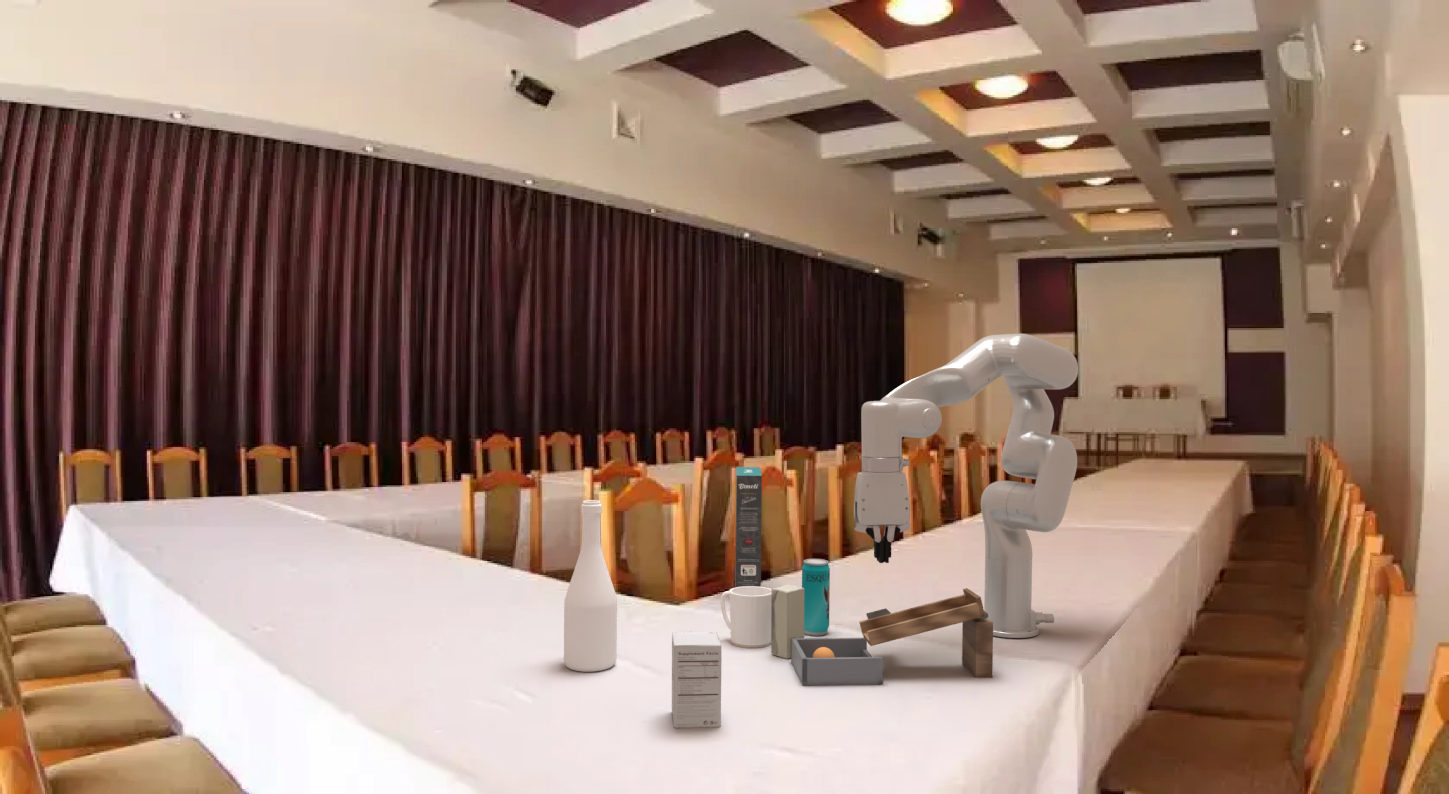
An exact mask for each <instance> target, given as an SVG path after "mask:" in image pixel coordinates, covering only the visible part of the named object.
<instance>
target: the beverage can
mask: <svg viewBox="0 0 1449 794" xmlns="http://www.w3.org/2000/svg"><path fill="white" fill-rule="evenodd" d="M830 577H831V568H830V565H829V561H828V560H826V559H822V558H807V559H803V565H802V567H801V587H802V588H804V635H807V636H812V637H820V636H825V635H826V634H827V632H828V630H829V628H830V599H831V598H830V595H831V594H830V589H831V588H830V586H831V585H830V583H831V581H830V580H831V578H830Z"/></svg>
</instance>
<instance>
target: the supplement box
mask: <svg viewBox="0 0 1449 794" xmlns="http://www.w3.org/2000/svg"><path fill="white" fill-rule="evenodd" d="M722 661H723V660H722V642H721V641H720V637H719V634H718V632H716V631H688V632H687V631H685V632H682V631H680V632H679V631H678V632H672V634H671V713H672V721H673V728H676V729H677V728H679V729H680V728H681V729H682V728H684V729H686V728H688V729H691V728H719V727H721V725H722Z"/></svg>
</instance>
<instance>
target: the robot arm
mask: <svg viewBox="0 0 1449 794" xmlns="http://www.w3.org/2000/svg"><path fill="white" fill-rule="evenodd" d="M1078 375H1079V363H1078V361H1077V358H1076V357H1075V356H1074V354H1073V353H1072V352H1071V351H1070V350H1069V349H1067V348H1065V347H1063V346H1060V345H1058V344H1056V343H1055V344H1054V343H1052V342H1049V341H1047V340H1045V339H1042V338H1040V337H1037V336H1033V335H1030V334H1028V333H1006V334H1005V333H1003V334H1002V333H1001V334H991V335H987V336H984V337H982V338H980V339H979V340H977V341H976V342H974V343H973V344H971V346H969V347H967V349H965V350H964V351H963V352H961V353H960V354H958V355H957V356H956V357H955V358H953V359H952V360H950V361H949V362H948V363H946V364H944V365H943V366H940V367H938V368H935V369H932V370H930V371H927V372H926V373H924V374H921V375H919V376H917V377H915V378H912V379H910V380H908V381H906V382H904V383H902V384H900V385H899V386H897V387H896V388H894V389H893V390H891V391H890V392H889V393H888V394H886V395H885V396H883V397H882V398H881V399H880V400H873V401H872V400H871V401H870V400H869V401H866V402H864V403H863V404H862V405H861V415H860V416H861V417H860V419H861V471H860V472H857V475H856V480H855V487H854V501H853V502H854V503H853V518H854V521H855V522H854V526H853V529H854V531H855V532H858V533H862V534H867V535H868V536H869V537H870V538H871V539H872V540H873V556H874V559H876V561H877V562H878V563H879V564H884V563H886V564H889V563H890V560H889V559H890V558H892V543H893V541H894V540H895V538H896V536H898V535H899V534H900V533H903V532H906V531H910V530H911V529H912V527H911V523H910V520H911V504H910V494H909V485H908V479H907V476H906V472H904V471H903V470H904V468H905V467H910V460H909V458H904V457H903V456H902V455H903V452H902V451H903V450H902V447H903V446H902V441H903V439H902V438H903V437H906V438H915V439H924V438H928V437H930V436H932V435H934V434H935V433H936V432H937V431H939V429H940V427H941V425H942V421H943V420H942V419H943V418H942V417H943V416H942V412H941V409H940V408H943V407H948V406H954V405H957V404H961V403H964V402H965V403H966V402H968V401H970V400H972V399H973V398H974V397H975V396H976V395H978V394H979V393H980V392H982V391H983V390H985V388H987V387H989V385H991V384H992V383H993V382H995V381H996V380H997V379H999V378H1000V377H1001V378H1002V379H1003V380H1002V381H1003V382H1004V383H1005V385H1006V388H1007V389H1008V392H1009V394H1010V397H1011V401H1012V405H1013V406H1012V407H1013V408H1012V415H1011V419H1010V423H1009V426H1008V430H1007V434H1006V437H1005V440H1004V443H1003V448H1002V452H1001V458H1000V464H1001V467H1002V470H1003V471H1004V472H1006V473H1007V474H1009V475H1011V476H1014V477H1018V478H1024V479H1031V480H1035V483H1028V482H1021V481H1014V480H1013V481H1012V480H998V481H994V482H991V483H989V484H988V486H986V487H985V489H984V490H983V492H982V493H981V498H980V509H981V510H980V511H981V516H982V522H983V529H984V545H985V546H984V550H985V551H984V554H985V555H984V603H983V605H984V606H983V609H984V611H985V612H986V613H988V619H989V620H991V621H992V622H993V637H1001V638H1005V639H1006V638H1008V639H1009V638H1010V639H1027V638H1032V637H1036V636H1038V635H1039V633H1040V631H1039V630H1040V628H1039V626H1038V625H1040V624H1041V623H1043V624H1055V616H1054V614H1053V613H1043V612H1042V611H1041V612H1036V611H1035V610H1034V609H1032V590H1033V587H1032V586H1033V585H1032V584H1033V583H1032V582H1033V580H1032V579H1033V546H1032V541H1031V539H1030V537H1029V534H1028V532H1027V531H1032V532H1037V533H1051V532H1052V531H1054V530H1056V529H1057V528H1058V527H1059V526H1060V525H1061V523H1062V521H1063V519H1064V515H1065V513H1066V509H1067V505H1068V503H1069V498H1070V495H1071V491H1072V488H1073V483H1074V480H1075V476H1076V474H1077V473H1076V472H1077V468H1078V454H1077V450H1076V448H1075V445H1074V444H1073V442H1072V441H1071V440H1070V439H1068V438H1067V437H1065V436H1062V435H1058V434H1051V433H1052V429H1053V425H1054V419H1055V411H1054V406H1053V404H1052V402H1051V400H1050V399H1049V396H1048V395H1047V393H1046V391H1045V390H1064V389H1067V388H1069V387H1071V385H1073V384H1074V382H1075V381H1076V380H1077V377H1078ZM880 527H884V532H883V536H882V535H881V529H880Z"/></svg>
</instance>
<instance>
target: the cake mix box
mask: <svg viewBox="0 0 1449 794" xmlns="http://www.w3.org/2000/svg"><path fill="white" fill-rule="evenodd" d="M735 478H736V482H735V564H734V566H735V567H734V568H735V569H734V570H735V571H734V572H735V573H734V576H735V579H734V580H735V583H734V586H735V587H734V588H736V587H743V586H757V587H762V513H763V512H762V507H763V506H762V505H763V503H762V502H763V500H762V499H763V487H762V486H763V485H762V484H763V475H762V471H761V468H760V467H759V466H758V467H757V466H756V467H755V466H750V467H749V466H736V477H735Z"/></svg>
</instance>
